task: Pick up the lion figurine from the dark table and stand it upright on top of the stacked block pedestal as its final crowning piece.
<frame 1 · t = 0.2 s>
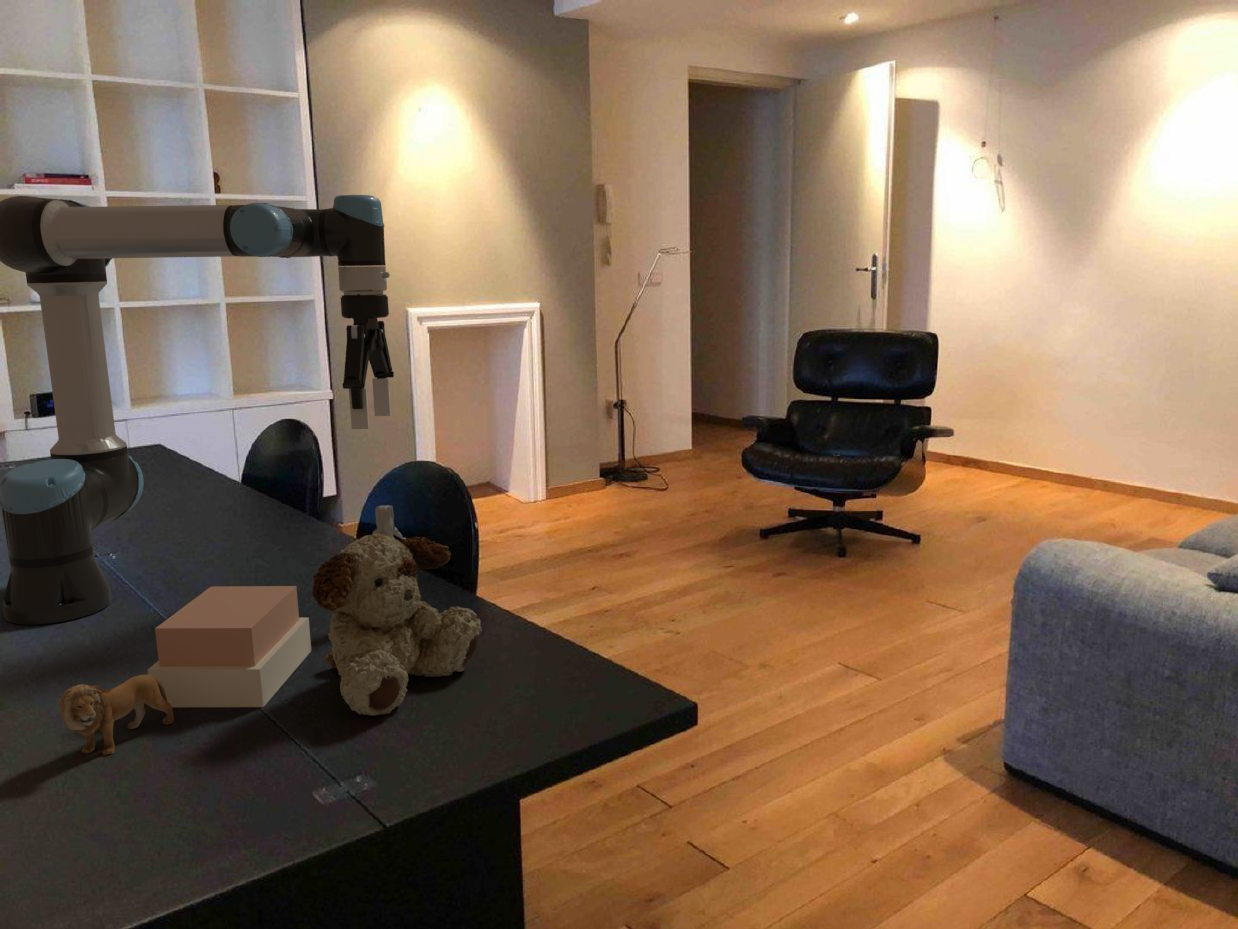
hand: (372, 422, 164), 28 cm above the table, fingers open, 13 cm apart
stacked block pedestal: (236, 677, 130), on the table
dog: (384, 682, 129), on the table
human figurine: (390, 619, 151), on the table
lion figurine: (123, 743, 113), on the table
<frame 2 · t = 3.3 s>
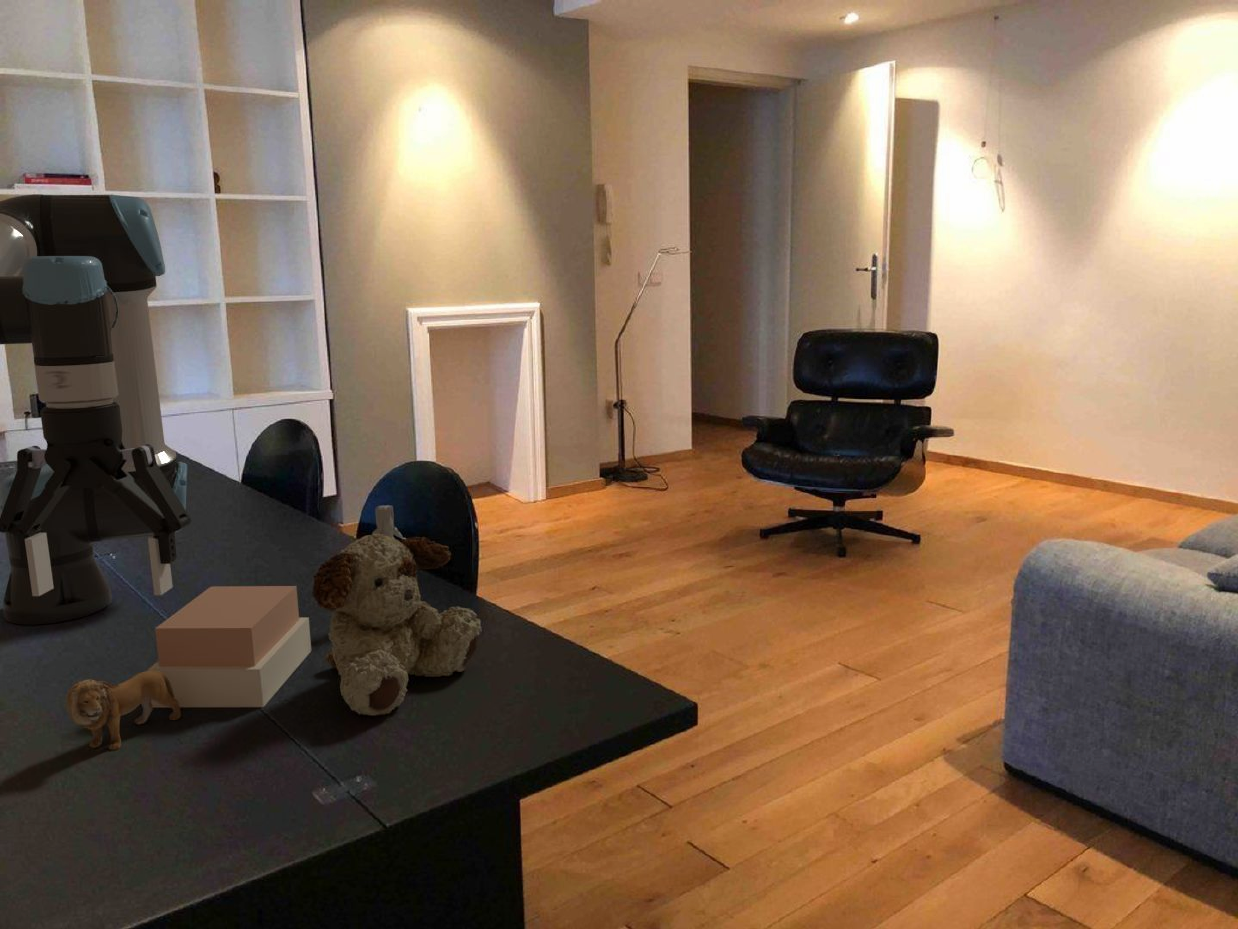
hand: (103, 592, 109), 18 cm above the table, fingers open, 13 cm apart
lion figurine: (129, 738, 114), on the table
everything else where it was.
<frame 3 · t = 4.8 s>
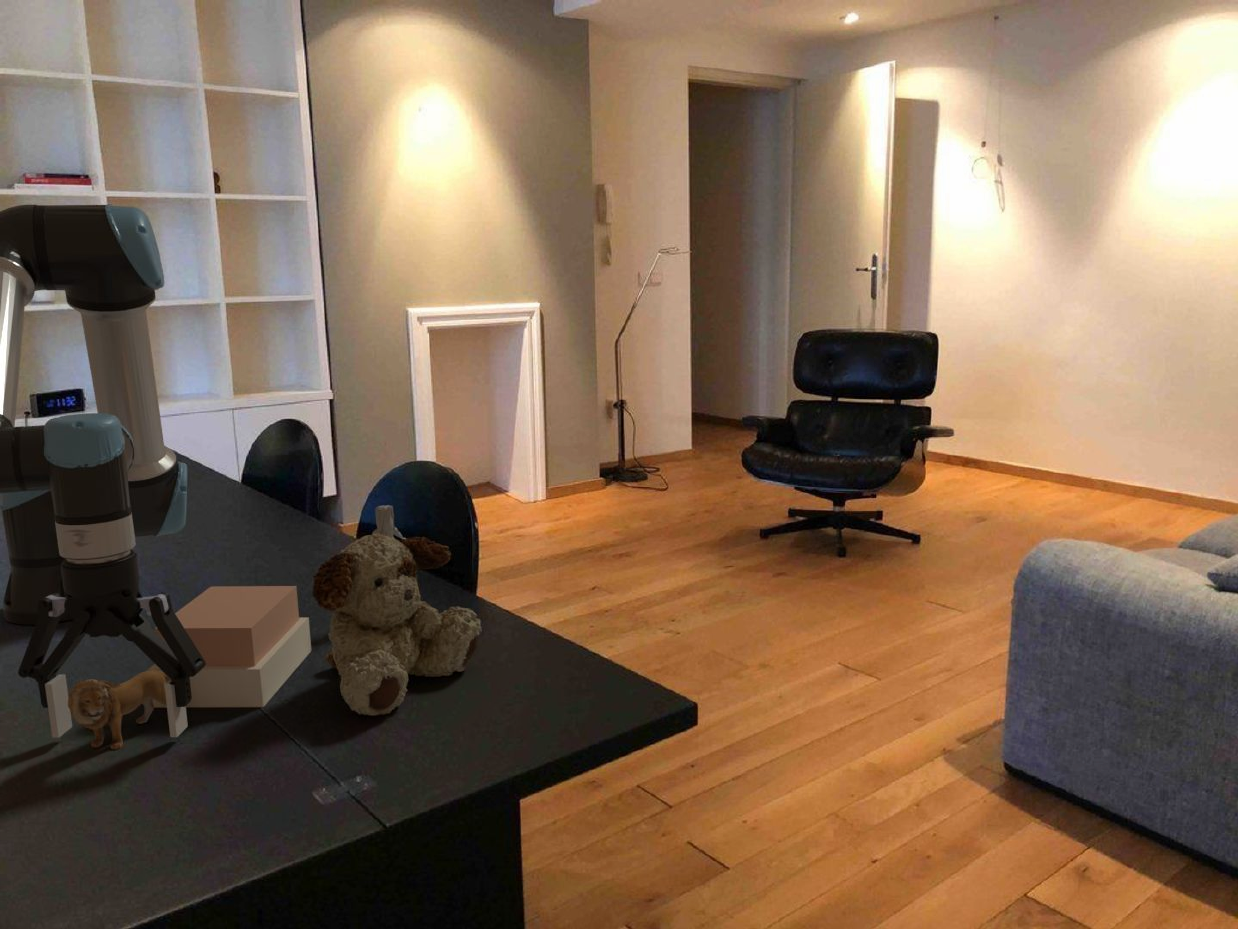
hand: (120, 732, 112), 1 cm above the table, fingers open, 13 cm apart
nothing on the table moved.
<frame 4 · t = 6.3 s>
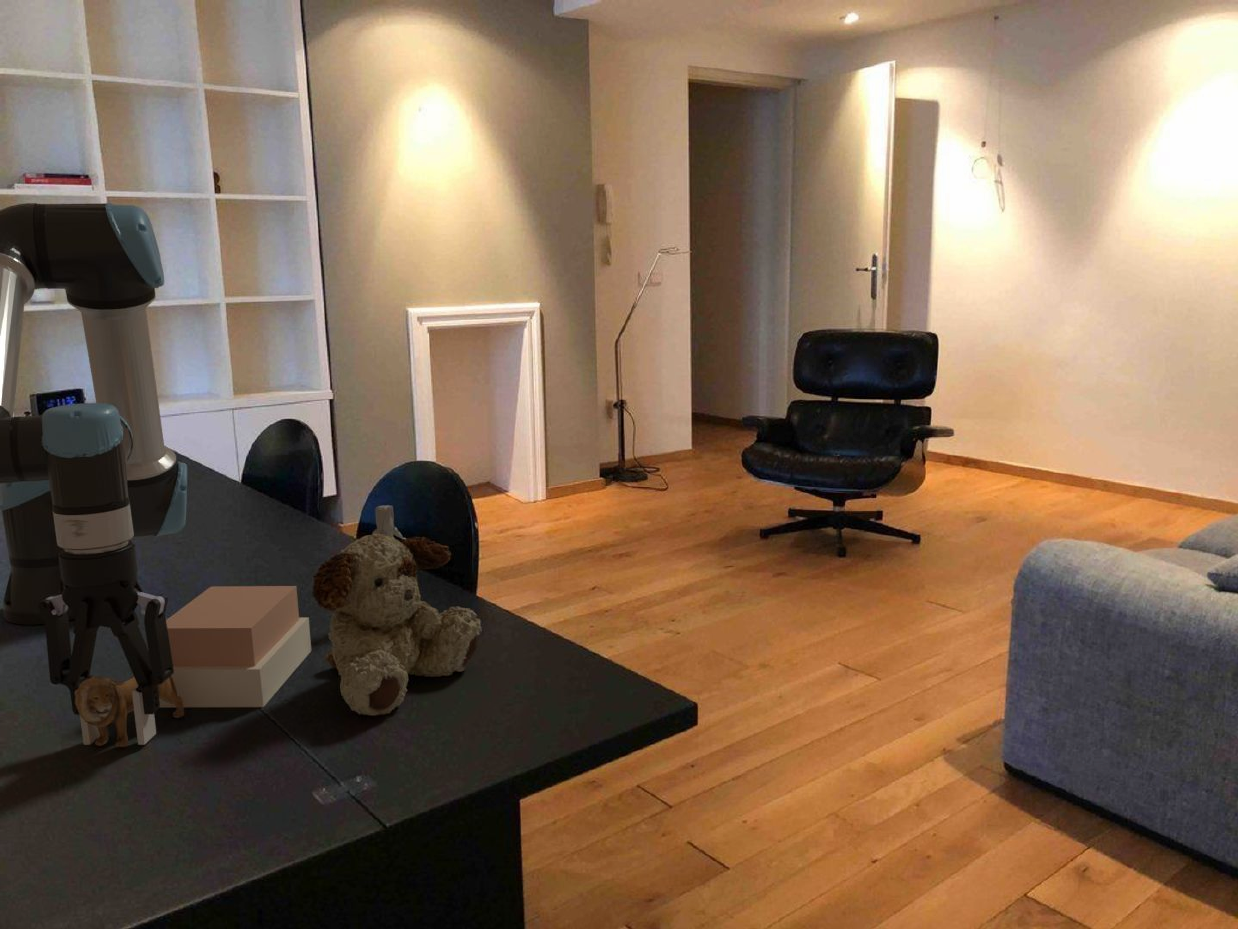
hand: (120, 738, 112), 1 cm above the table, fingers closed on lion figurine, 6 cm apart
lion figurine: (135, 736, 114), on the table, touching gripper
everything else where it was.
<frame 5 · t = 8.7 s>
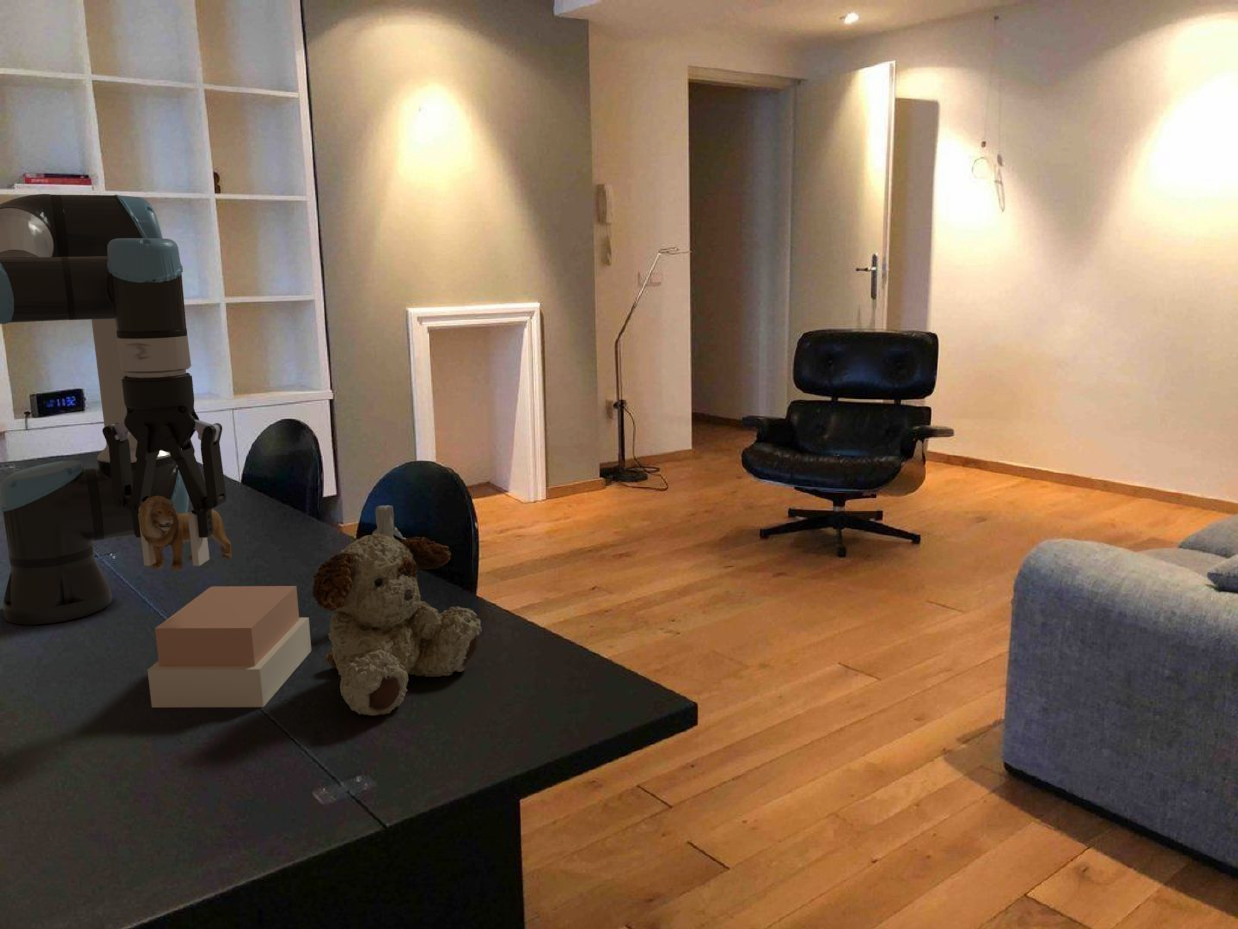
hand: (177, 562, 119), 18 cm above the table, fingers closed on lion figurine, 5 cm apart
lion figurine: (187, 566, 120), point 17 cm above the table, touching gripper
everything else where it was.
when the fingers open (11 cm above the table, at t = 11.0 s): lion figurine stays where it is, resting on stacked block pedestal.
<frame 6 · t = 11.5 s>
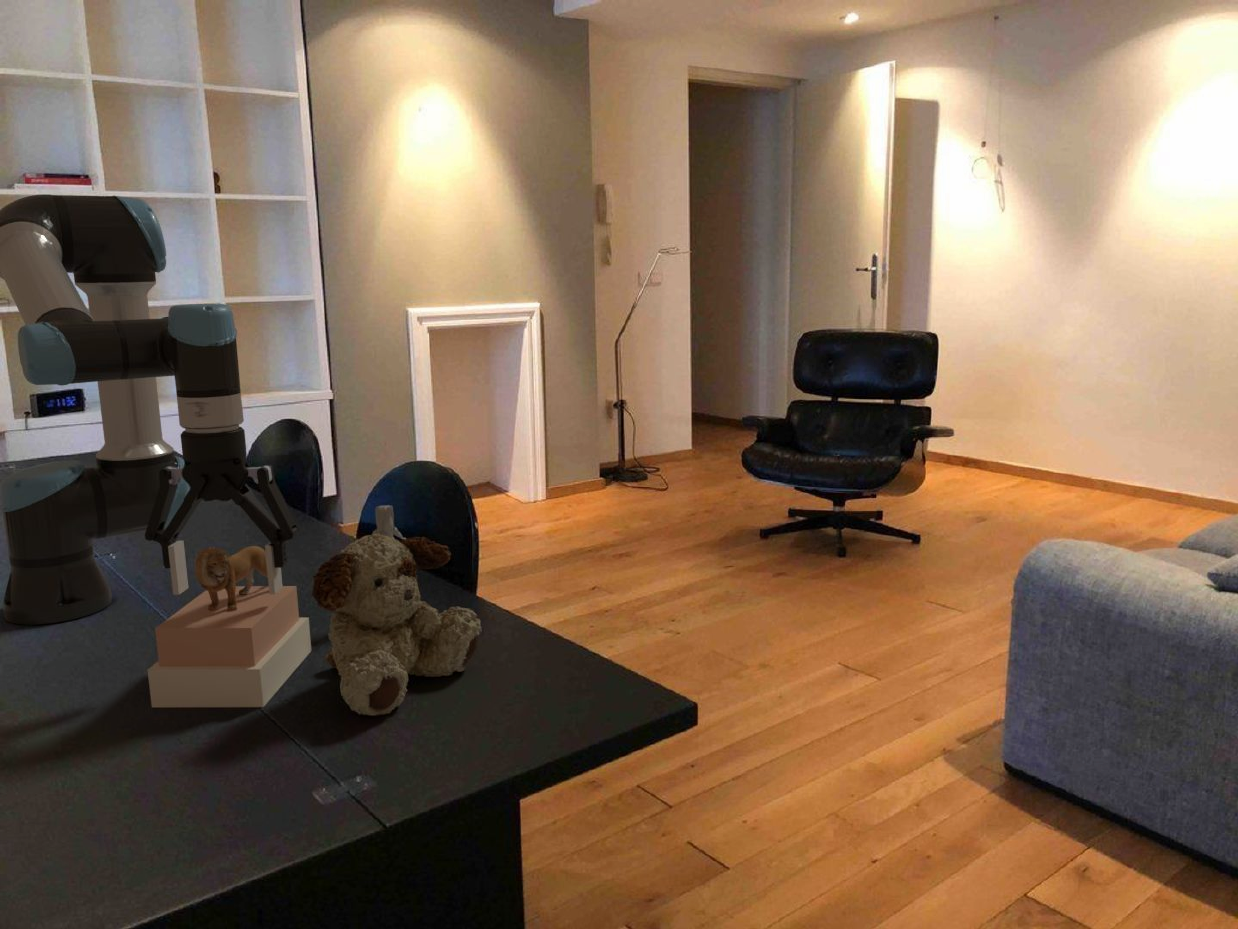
hand: (228, 591, 128), 12 cm above the table, fingers open, 12 cm apart
lion figurine: (240, 604, 129), point 10 cm above the table, touching stacked block pedestal
everything else where it was.
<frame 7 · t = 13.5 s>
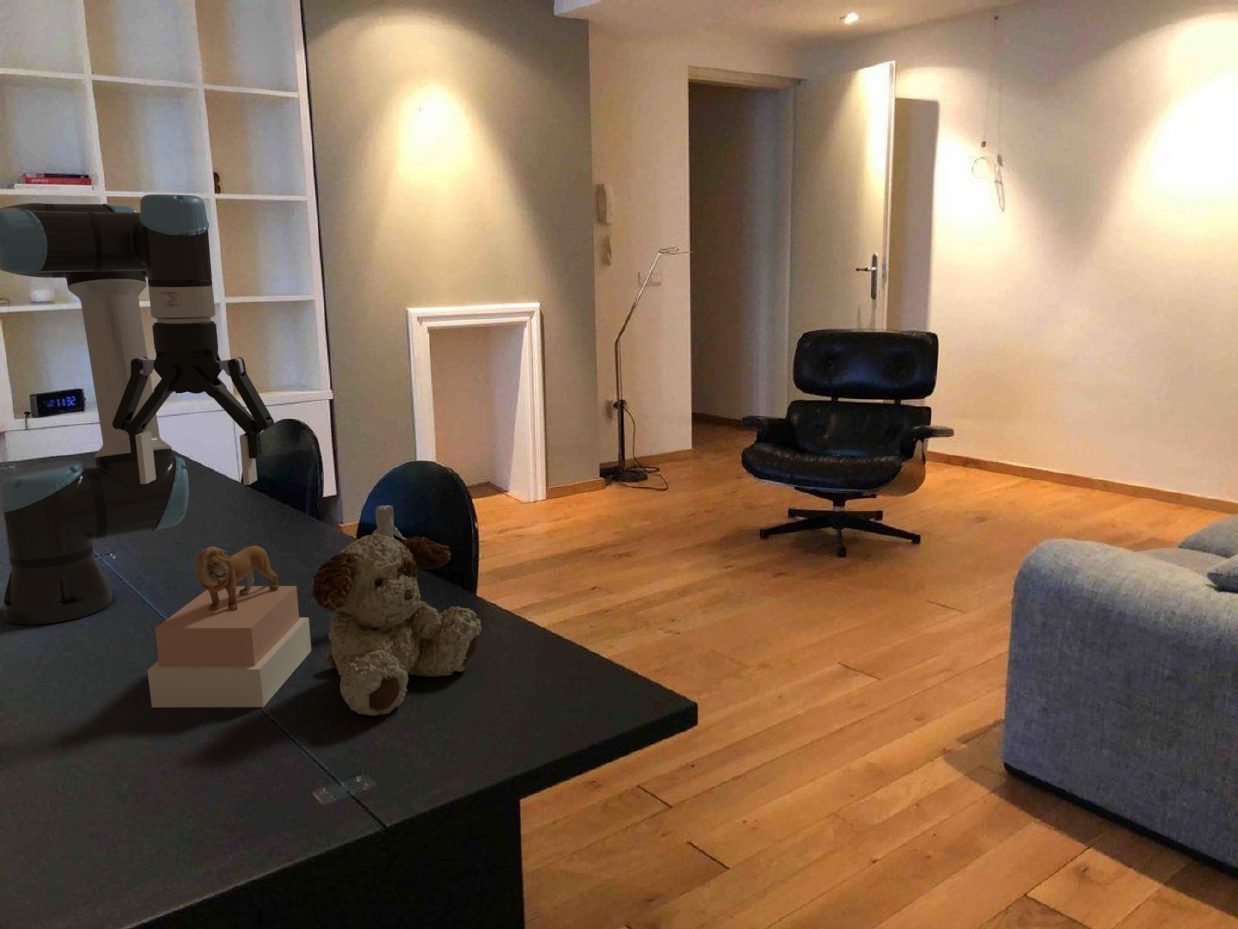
hand: (199, 482, 129), 26 cm above the table, fingers open, 13 cm apart
nothing on the table moved.
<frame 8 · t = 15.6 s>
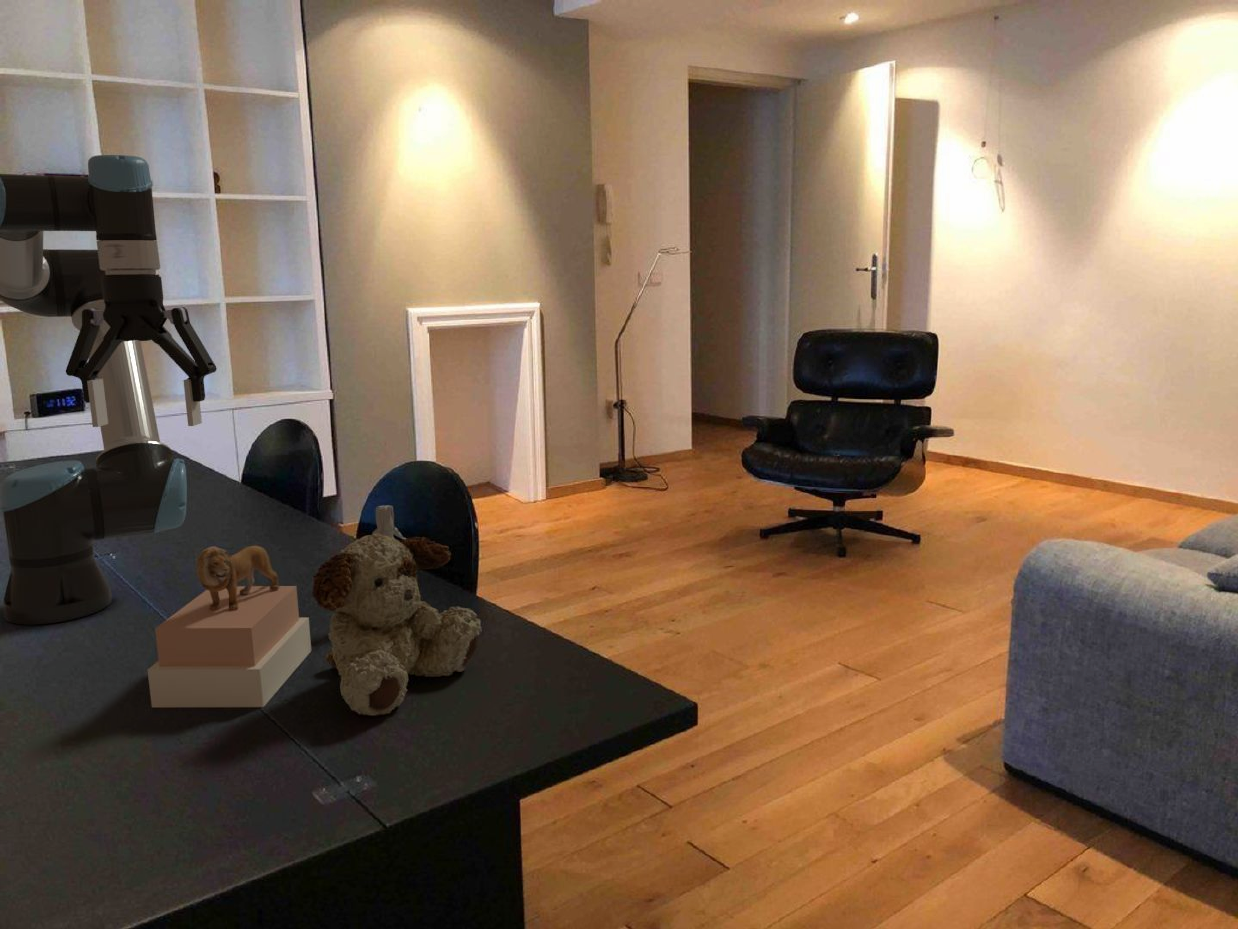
hand: (147, 425, 139), 32 cm above the table, fingers open, 13 cm apart
nothing on the table moved.
at the end: lion figurine inside the target area on the stacked block pedestal (1.6 cm from its centre), point 9.8 cm above the stacked block pedestal's base; lion figurine tilted 0°; the gripper is holding nothing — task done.
